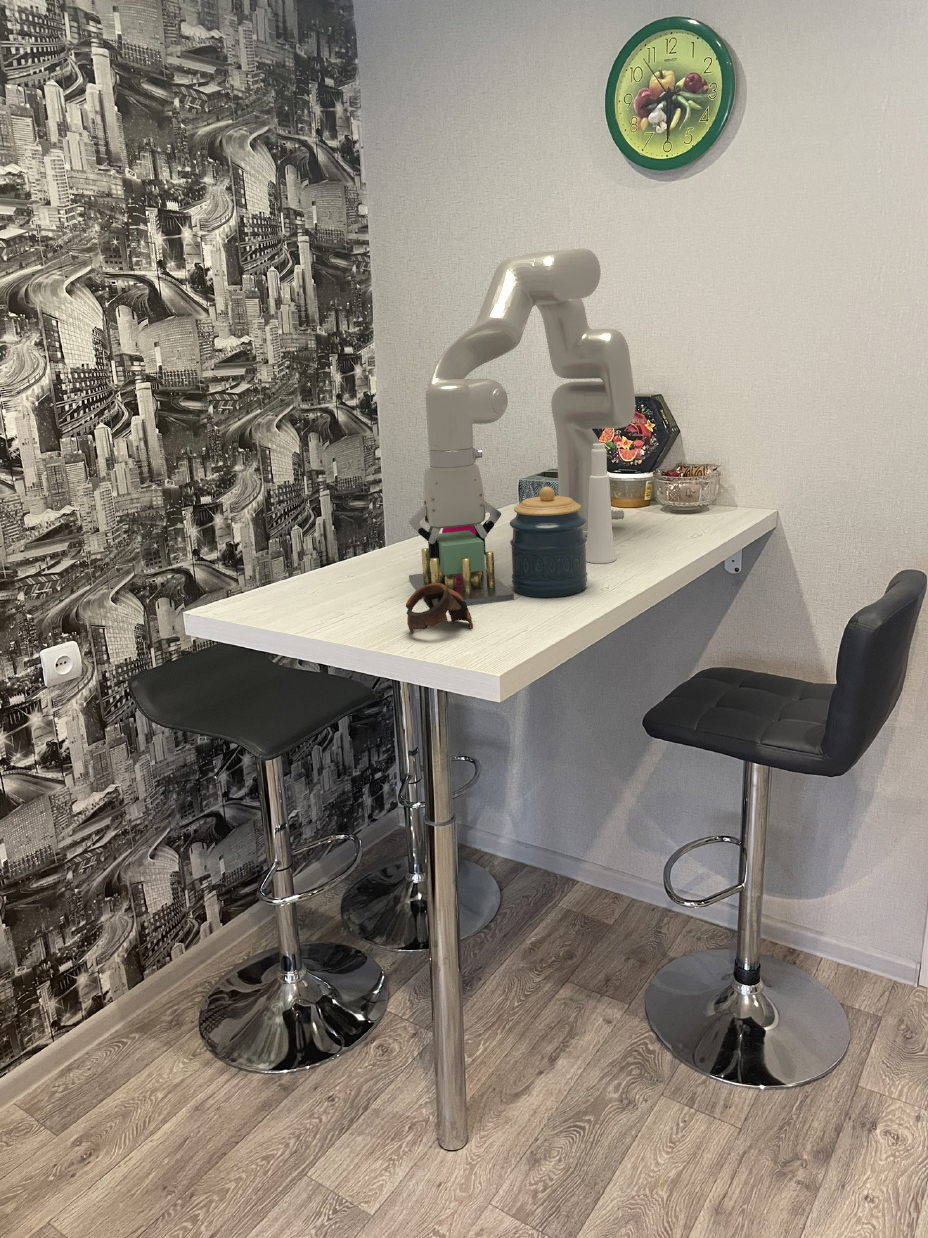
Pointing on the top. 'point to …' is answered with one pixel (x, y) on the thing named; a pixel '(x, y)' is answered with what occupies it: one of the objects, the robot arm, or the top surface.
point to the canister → (548, 546)
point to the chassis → (464, 580)
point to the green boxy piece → (460, 551)
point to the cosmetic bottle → (599, 511)
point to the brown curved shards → (436, 607)
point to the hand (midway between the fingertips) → (457, 561)
